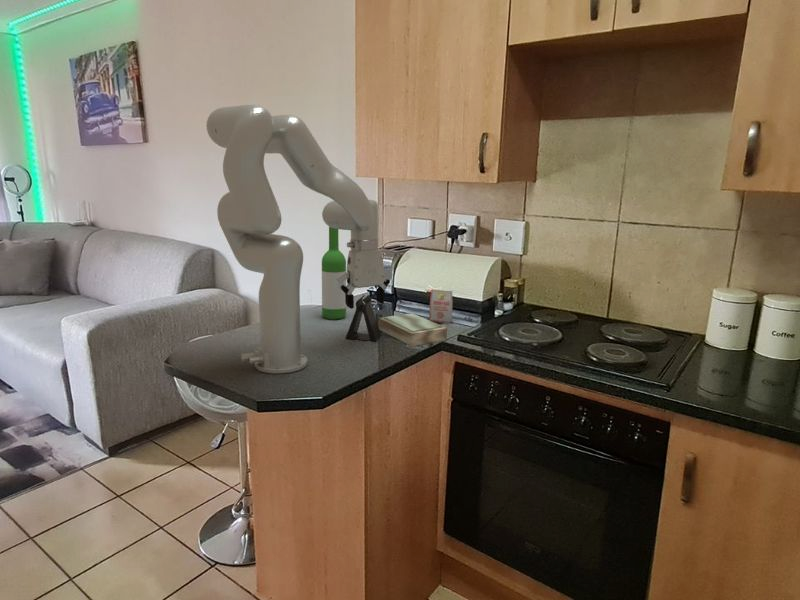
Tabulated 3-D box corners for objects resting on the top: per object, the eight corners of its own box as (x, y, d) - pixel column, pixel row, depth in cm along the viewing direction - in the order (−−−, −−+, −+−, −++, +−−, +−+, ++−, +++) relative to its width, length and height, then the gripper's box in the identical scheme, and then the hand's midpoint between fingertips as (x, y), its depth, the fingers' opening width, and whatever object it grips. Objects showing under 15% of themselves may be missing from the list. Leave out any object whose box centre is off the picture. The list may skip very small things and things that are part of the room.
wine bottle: (317, 316, 174) (316, 224, 167) (338, 312, 179) (338, 223, 172) (329, 321, 168) (328, 226, 161) (350, 318, 173) (350, 225, 166)
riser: (411, 346, 146) (411, 332, 145) (379, 329, 161) (379, 316, 160) (446, 340, 152) (447, 326, 151) (412, 324, 167) (412, 312, 166)
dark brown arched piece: (381, 336, 155) (381, 296, 152) (376, 342, 149) (376, 300, 146) (351, 333, 156) (351, 293, 153) (345, 339, 151) (345, 298, 148)
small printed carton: (431, 317, 175) (432, 288, 173) (451, 319, 174) (453, 289, 171) (429, 320, 172) (430, 290, 170) (449, 322, 170) (451, 292, 168)
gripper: (342, 249, 139) (343, 312, 143) (398, 244, 148) (398, 303, 152) (330, 245, 145) (331, 306, 149) (384, 241, 154) (385, 298, 158)
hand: (365, 305), depth 151 cm, fingers open, 9 cm apart
